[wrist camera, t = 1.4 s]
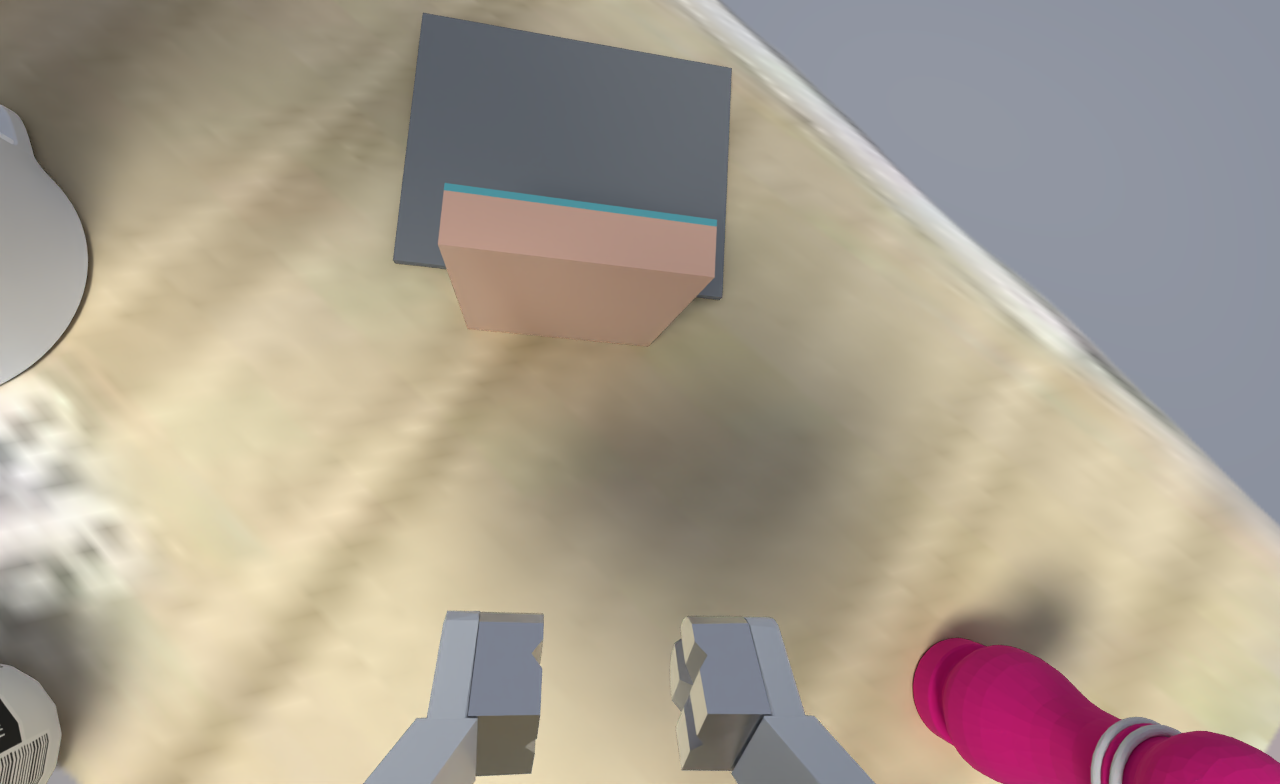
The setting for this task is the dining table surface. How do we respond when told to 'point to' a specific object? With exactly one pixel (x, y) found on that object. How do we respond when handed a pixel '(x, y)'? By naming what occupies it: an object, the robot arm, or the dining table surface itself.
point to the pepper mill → (1062, 727)
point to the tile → (571, 265)
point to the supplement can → (26, 729)
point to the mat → (560, 129)
